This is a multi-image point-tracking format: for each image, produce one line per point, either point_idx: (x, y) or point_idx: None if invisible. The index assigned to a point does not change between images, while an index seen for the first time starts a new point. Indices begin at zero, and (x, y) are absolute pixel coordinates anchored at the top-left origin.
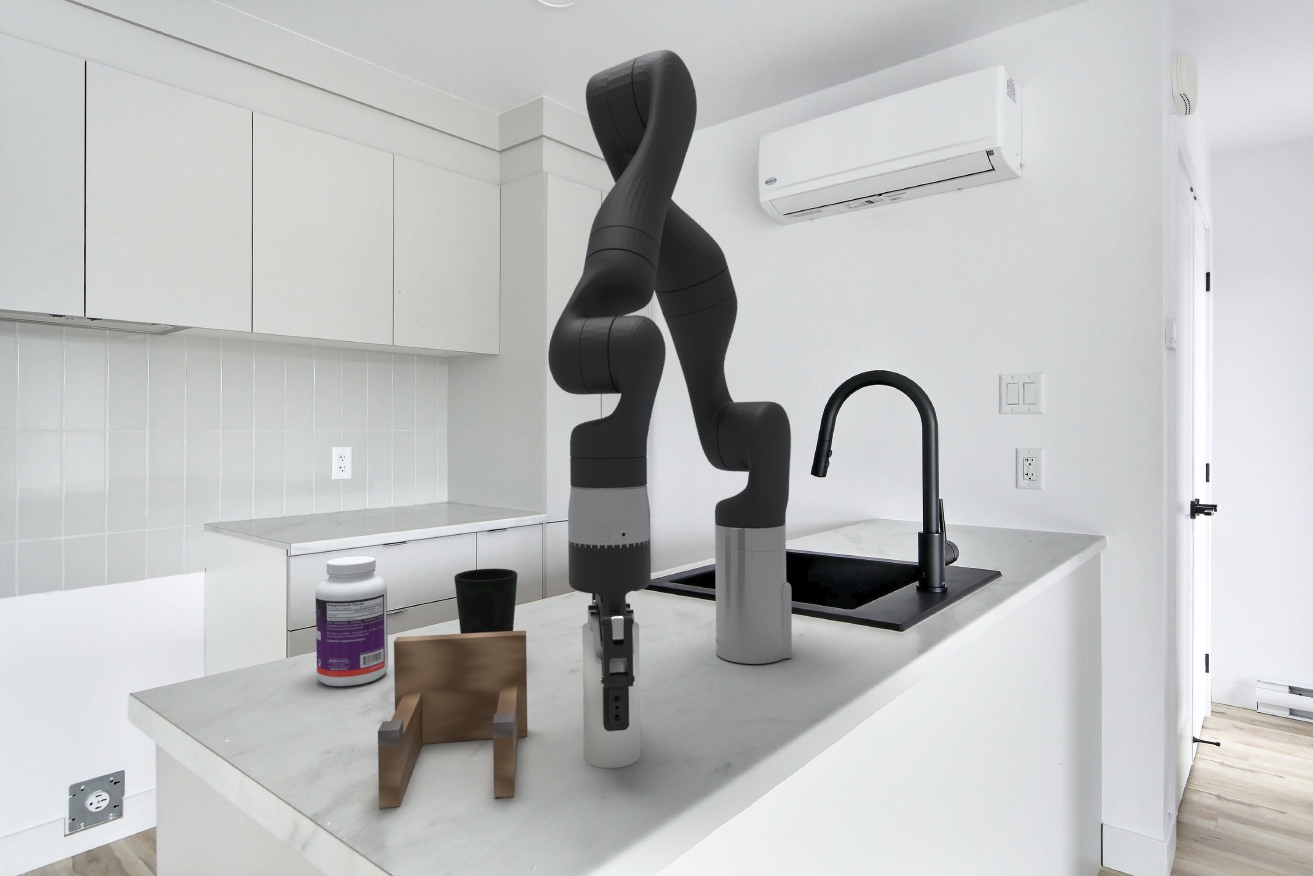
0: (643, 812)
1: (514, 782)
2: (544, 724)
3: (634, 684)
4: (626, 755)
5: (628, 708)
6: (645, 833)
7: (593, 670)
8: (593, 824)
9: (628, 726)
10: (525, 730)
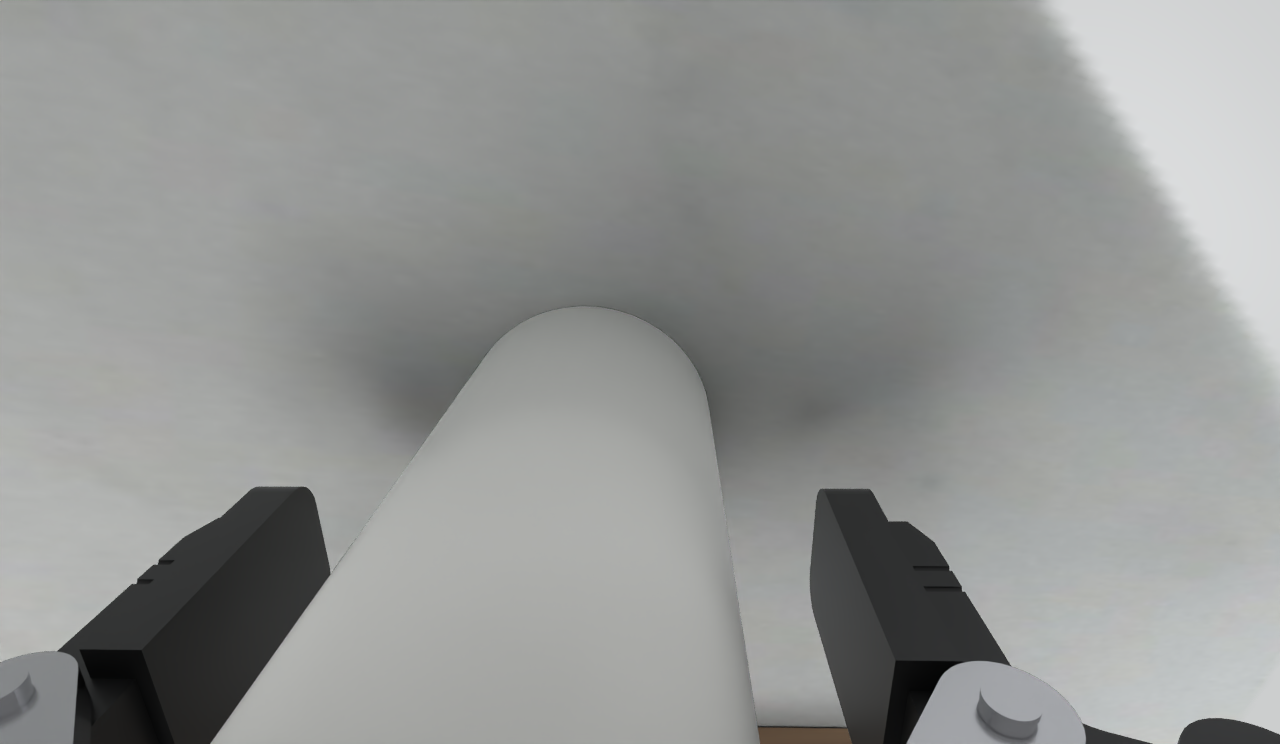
0: (1103, 356)
1: (787, 741)
2: None
3: (677, 541)
4: (701, 394)
5: (899, 552)
6: (1254, 367)
7: None
8: (1113, 524)
9: (867, 489)
10: None
